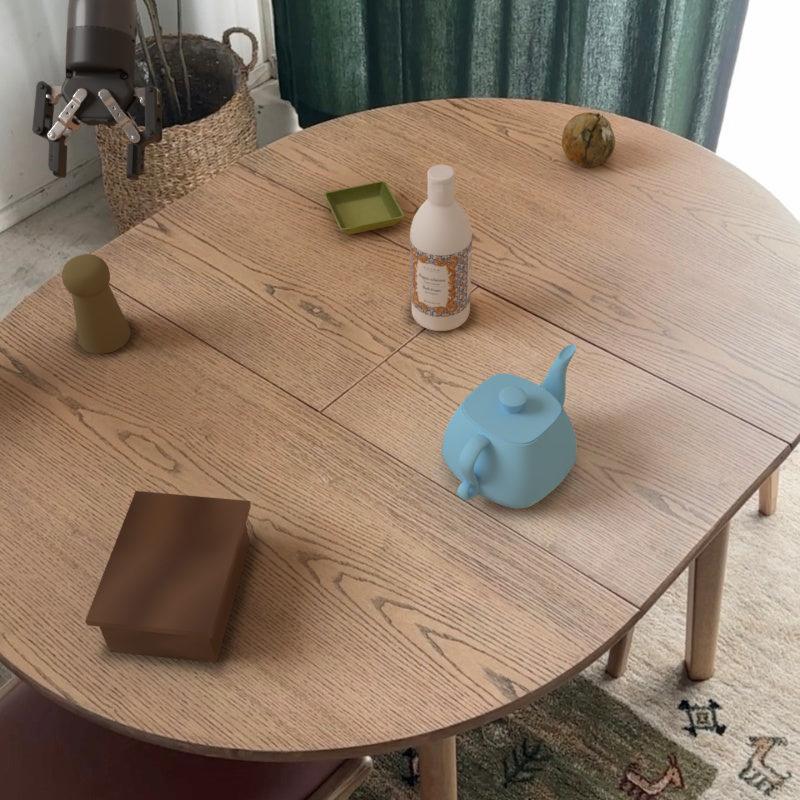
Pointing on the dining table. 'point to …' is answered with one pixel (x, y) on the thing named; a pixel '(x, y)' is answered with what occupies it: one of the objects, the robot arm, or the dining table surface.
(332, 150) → the dining table surface
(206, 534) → the lidded wooden box
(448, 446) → the teapot
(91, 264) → the olive pawn
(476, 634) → the dining table surface
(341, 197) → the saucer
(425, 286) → the bath foam
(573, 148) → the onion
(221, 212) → the dining table surface
